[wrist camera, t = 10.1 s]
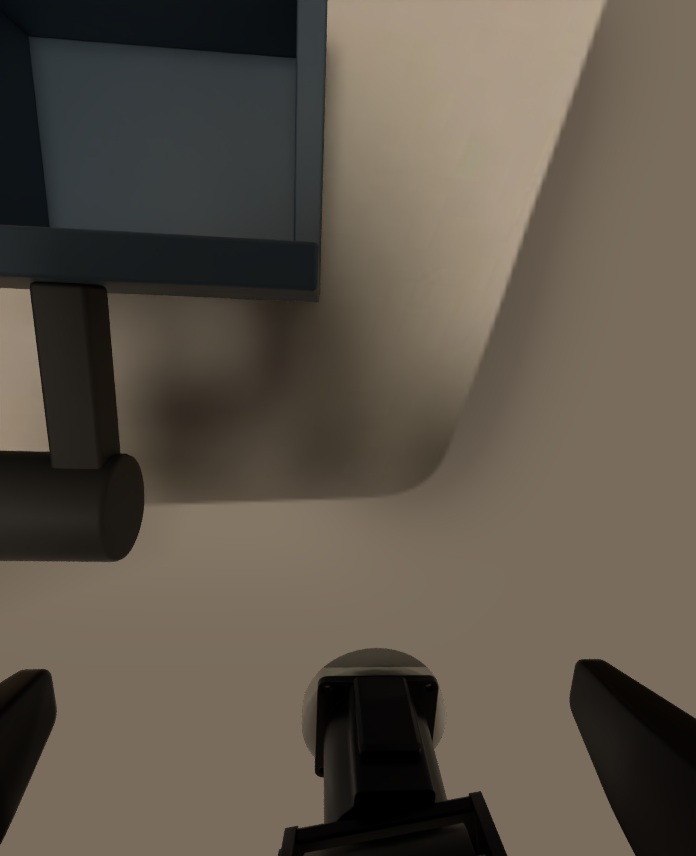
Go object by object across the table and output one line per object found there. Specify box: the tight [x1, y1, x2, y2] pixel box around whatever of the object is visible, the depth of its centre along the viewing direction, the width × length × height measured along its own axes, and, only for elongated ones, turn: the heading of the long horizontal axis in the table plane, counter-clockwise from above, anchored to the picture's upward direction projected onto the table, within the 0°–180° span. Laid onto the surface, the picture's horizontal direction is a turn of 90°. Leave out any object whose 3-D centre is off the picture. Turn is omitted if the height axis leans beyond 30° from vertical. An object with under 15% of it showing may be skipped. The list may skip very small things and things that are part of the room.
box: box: [0, 0, 327, 295], centre depth 15 cm, size 9×11×5 cm
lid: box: [0, 225, 320, 562], centre depth 9 cm, size 9×11×4 cm
